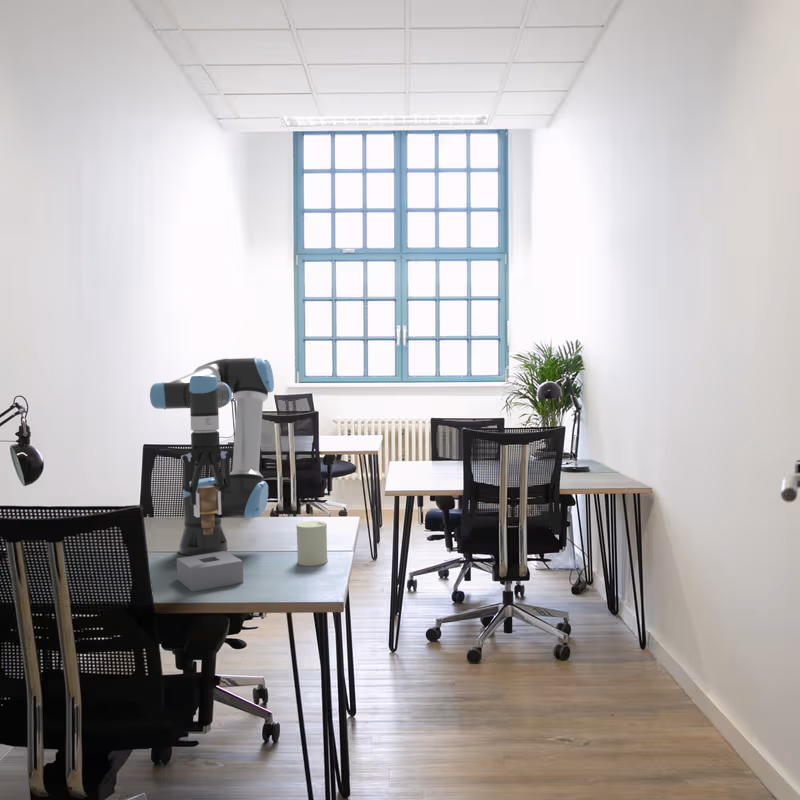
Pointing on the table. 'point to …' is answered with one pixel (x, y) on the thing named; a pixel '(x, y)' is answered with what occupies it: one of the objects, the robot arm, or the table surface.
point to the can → (312, 543)
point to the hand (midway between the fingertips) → (207, 514)
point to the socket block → (209, 570)
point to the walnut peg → (207, 507)
